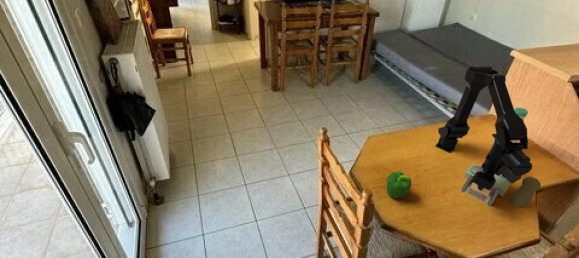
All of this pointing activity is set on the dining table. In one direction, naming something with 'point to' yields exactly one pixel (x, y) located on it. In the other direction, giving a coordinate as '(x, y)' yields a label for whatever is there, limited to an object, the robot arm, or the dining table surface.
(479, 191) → the tan and grey block
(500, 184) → the sage green knobbed slab
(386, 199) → the dining table surface
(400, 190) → the bell pepper
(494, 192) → the bracket
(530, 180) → the olive pepper mill
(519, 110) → the milk bottle
